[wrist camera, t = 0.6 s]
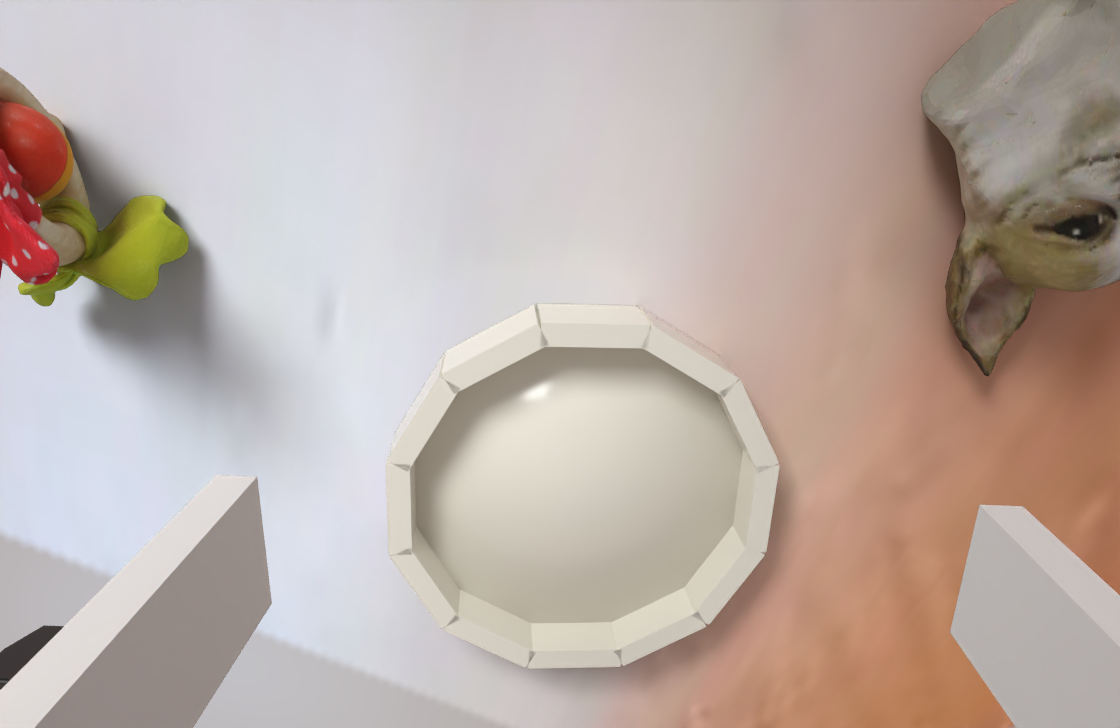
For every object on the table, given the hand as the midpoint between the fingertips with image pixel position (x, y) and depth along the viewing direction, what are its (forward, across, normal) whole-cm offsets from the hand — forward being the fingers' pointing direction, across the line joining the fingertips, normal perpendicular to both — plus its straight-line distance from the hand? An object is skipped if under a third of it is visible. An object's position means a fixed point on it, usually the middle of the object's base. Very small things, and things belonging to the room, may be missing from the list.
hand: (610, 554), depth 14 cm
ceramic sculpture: (+22, +18, +6) cm, 29 cm away
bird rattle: (+18, -20, +4) cm, 28 cm away
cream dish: (+20, 0, -9) cm, 22 cm away
